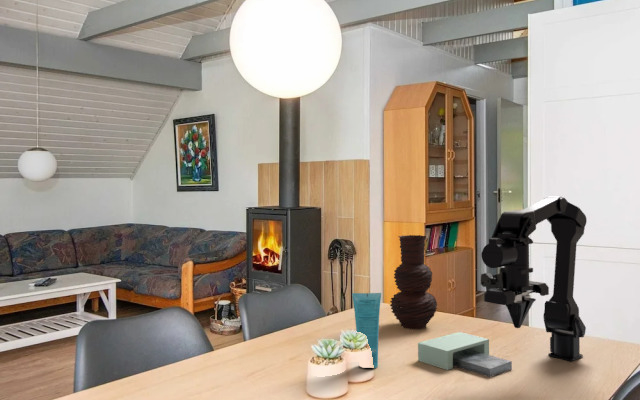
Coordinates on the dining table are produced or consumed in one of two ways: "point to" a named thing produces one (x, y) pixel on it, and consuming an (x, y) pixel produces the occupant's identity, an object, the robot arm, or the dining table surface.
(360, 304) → the tube
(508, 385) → the dining table surface
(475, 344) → the pale mint green box
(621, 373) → the dining table surface
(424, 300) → the vase
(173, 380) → the dining table surface
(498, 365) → the grey flat block
